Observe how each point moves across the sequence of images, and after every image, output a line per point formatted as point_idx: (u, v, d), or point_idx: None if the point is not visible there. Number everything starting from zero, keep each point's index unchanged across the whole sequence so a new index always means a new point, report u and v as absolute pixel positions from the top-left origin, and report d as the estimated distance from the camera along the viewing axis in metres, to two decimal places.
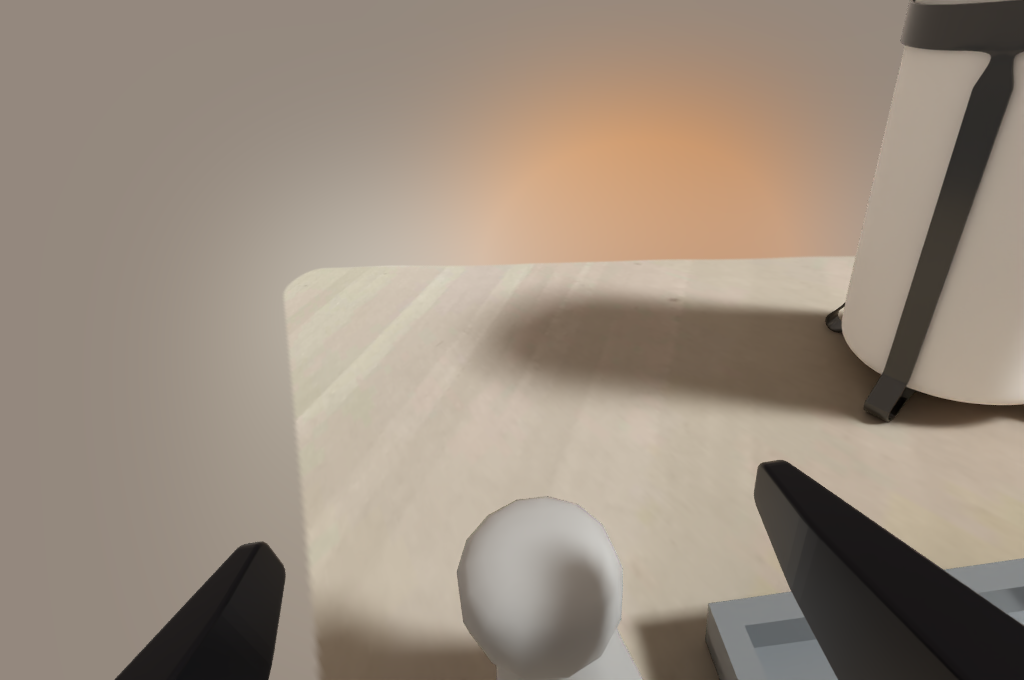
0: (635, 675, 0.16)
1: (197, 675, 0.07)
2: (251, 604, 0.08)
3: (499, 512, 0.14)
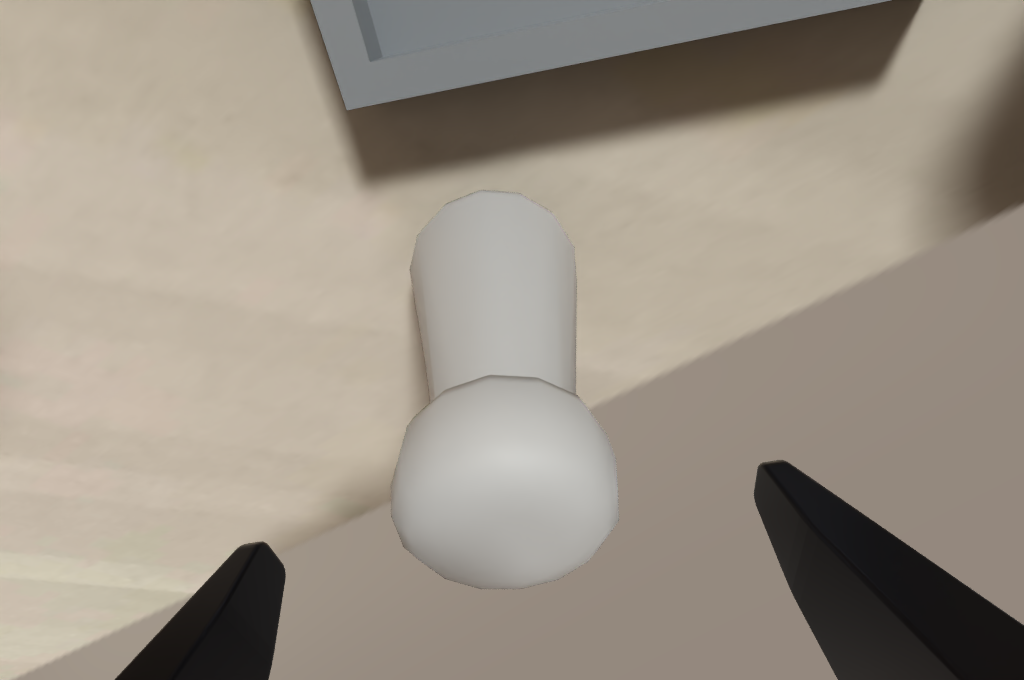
0: (490, 253, 0.13)
1: (197, 675, 0.07)
2: (251, 604, 0.08)
3: (440, 573, 0.09)
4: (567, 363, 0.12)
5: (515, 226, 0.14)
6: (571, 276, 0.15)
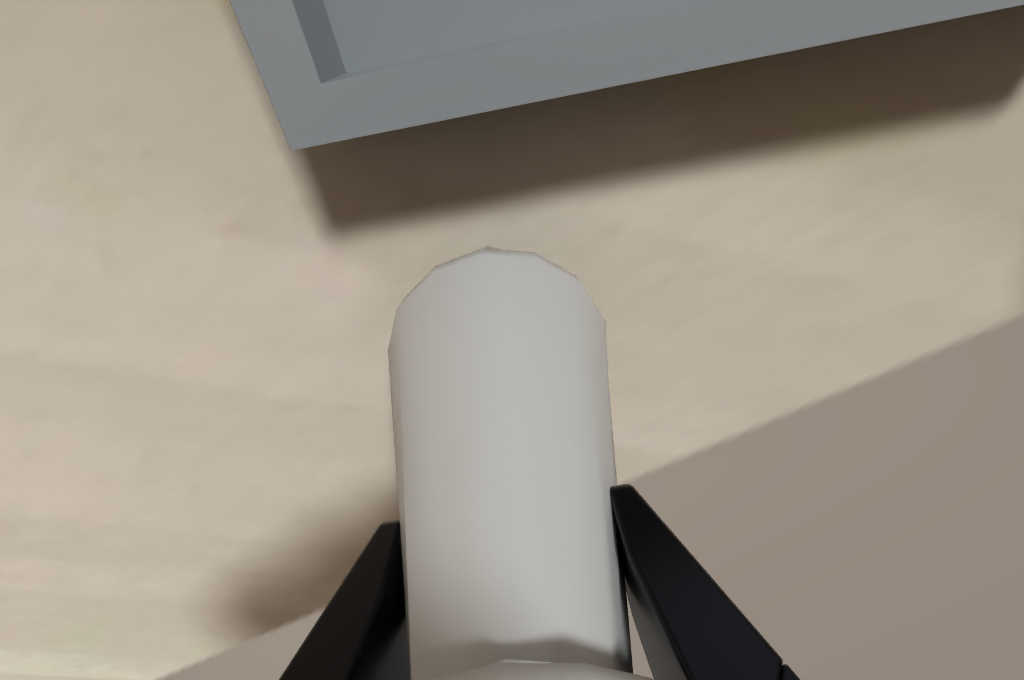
0: (496, 360, 0.09)
1: (374, 650, 0.07)
2: (402, 581, 0.08)
3: None
4: (615, 548, 0.08)
5: (530, 309, 0.10)
6: (606, 373, 0.11)
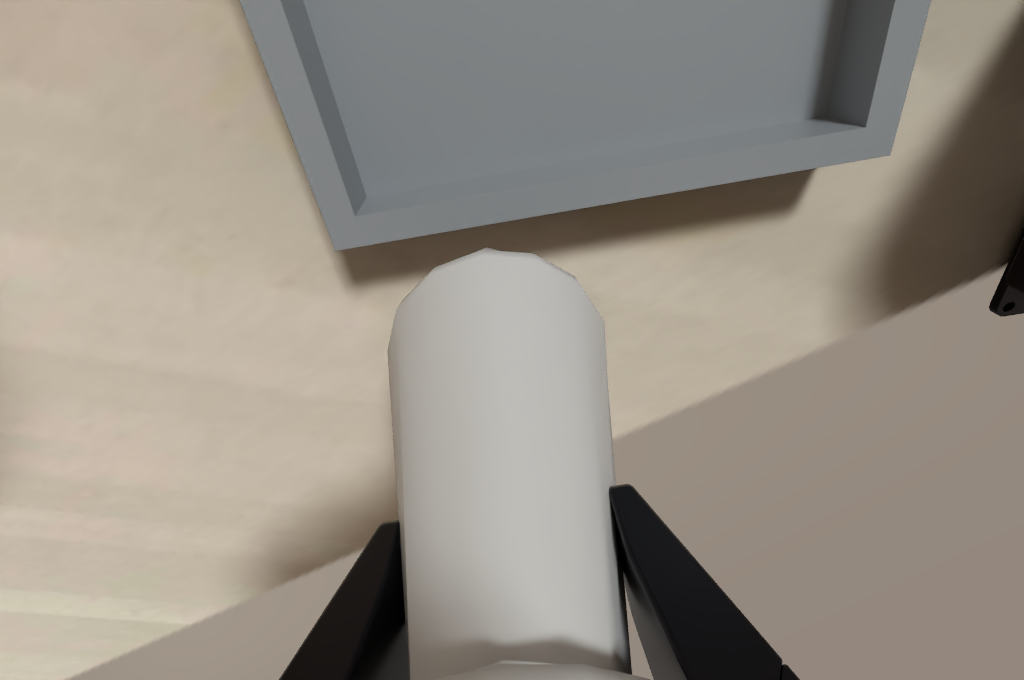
0: (495, 362, 0.09)
1: (374, 650, 0.07)
2: (402, 581, 0.08)
3: None
4: (614, 549, 0.08)
5: (529, 310, 0.10)
6: (605, 374, 0.11)
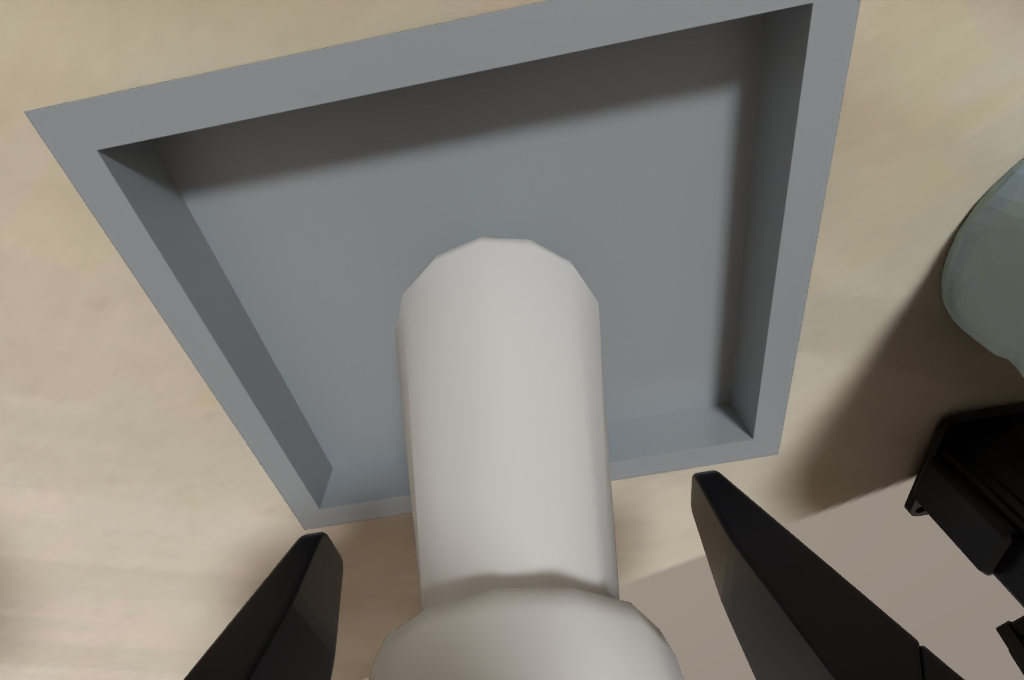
0: (494, 338, 0.10)
1: (273, 664, 0.07)
2: (316, 594, 0.08)
3: None
4: (604, 503, 0.08)
5: (525, 291, 0.11)
6: (598, 350, 0.12)
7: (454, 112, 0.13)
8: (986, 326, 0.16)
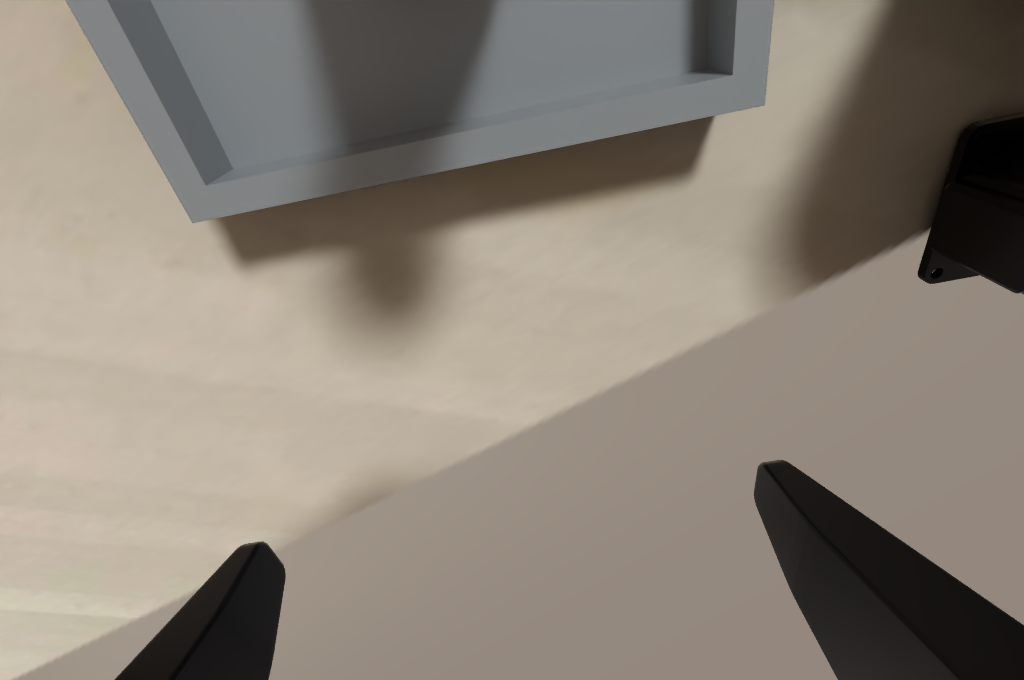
0: None
1: (197, 675, 0.07)
2: (251, 604, 0.08)
3: None
4: None
5: None
6: None
7: None
8: None
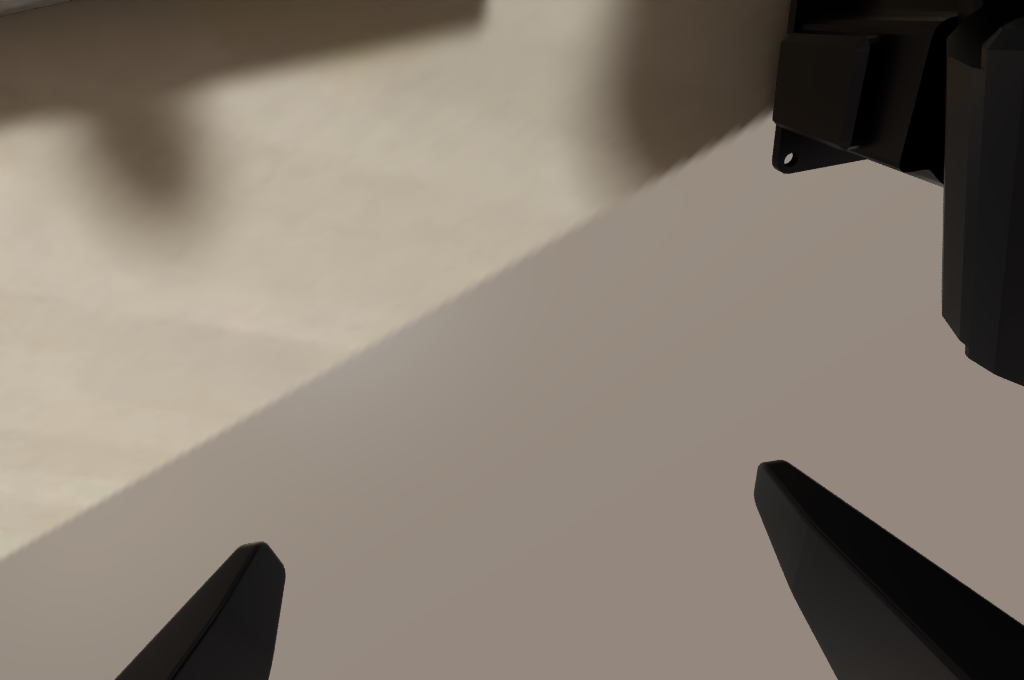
0: None
1: (197, 675, 0.07)
2: (251, 604, 0.08)
3: None
4: None
5: None
6: None
7: None
8: None
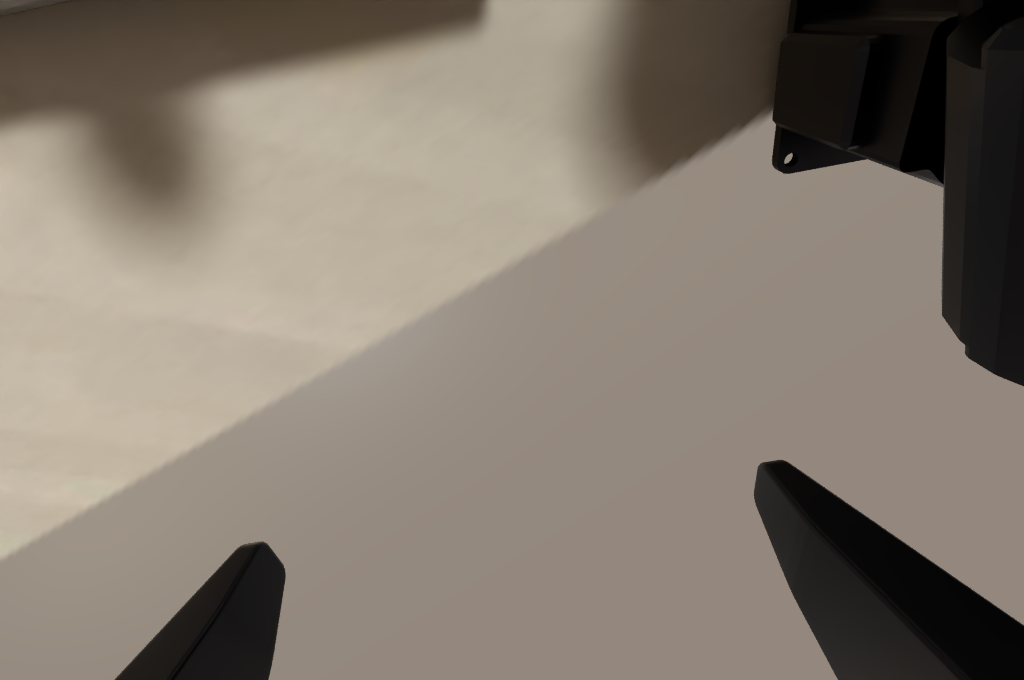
0: None
1: (197, 675, 0.07)
2: (251, 604, 0.08)
3: None
4: None
5: None
6: None
7: None
8: None
